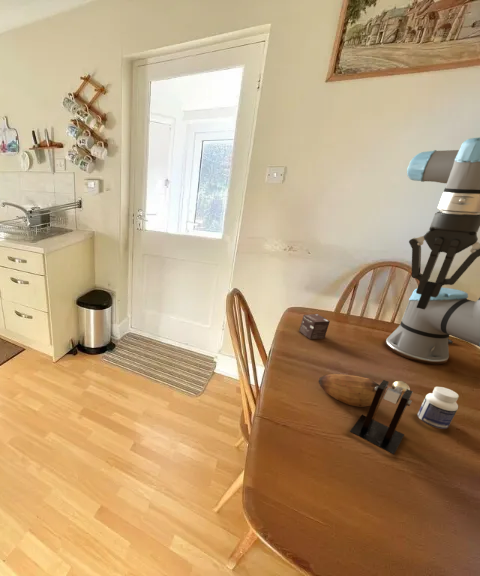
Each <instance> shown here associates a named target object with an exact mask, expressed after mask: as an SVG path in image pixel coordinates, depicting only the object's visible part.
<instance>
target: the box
mask: <svg viewBox="0 0 480 576" xmlns="http://www.w3.org/2000/svg"><path fill="white" fill-rule="evenodd" d="M329 326H330V320H329V319H326V317H324V316H321V315H320V314H319V313H312V314H303V316H302V320H301V323H300V327H299V331H298V332H300V334H301V335H303V336H305V337H307V338H308V339H310V340H319V339H325V338H326V334H327V331H328V328H329Z"/></svg>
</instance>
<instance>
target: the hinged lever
mask: <svg viewBox="0 0 480 576" xmlns="http://www.w3.org/2000/svg"><path fill="white" fill-rule="evenodd" d="M406 389H408V390H411V388H410V385H409V384H408V383H406V382H405V381H402V380H396V381H394V382H392V384H391V387H387V388H386V391H385V393H384V396H383V398H382V400H384V401H387V402H389V403H391V404H394V405H398V402H400V399H401V397H402V396H403V394H404V393H405V391H406Z"/></svg>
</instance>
